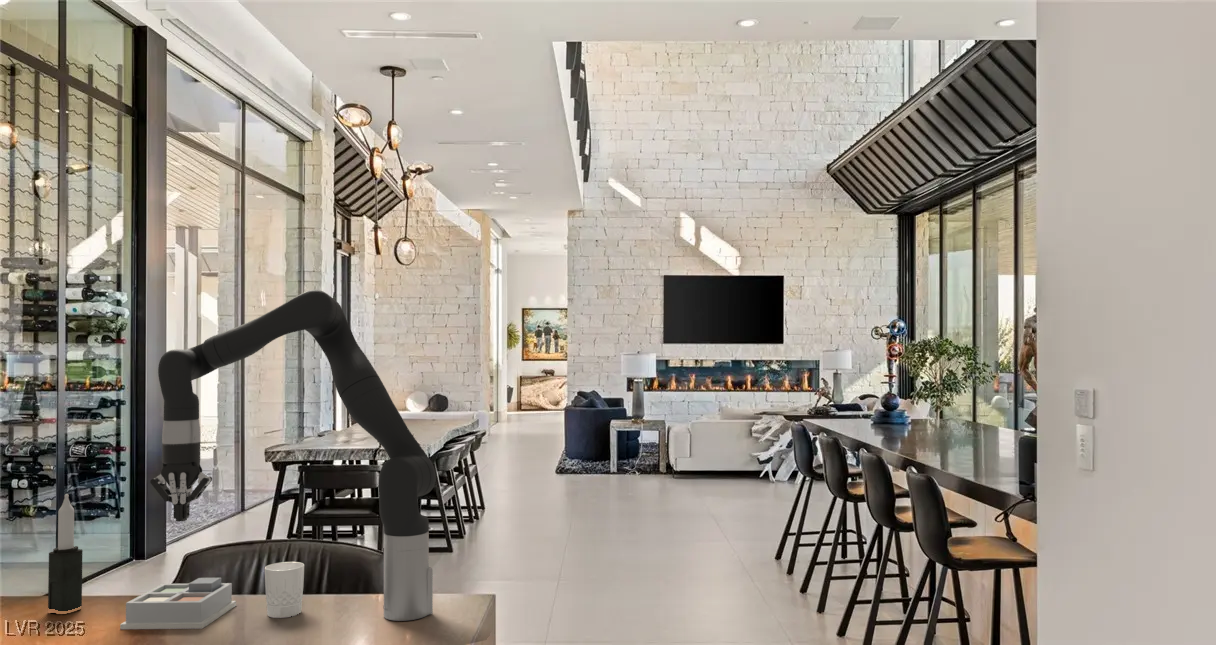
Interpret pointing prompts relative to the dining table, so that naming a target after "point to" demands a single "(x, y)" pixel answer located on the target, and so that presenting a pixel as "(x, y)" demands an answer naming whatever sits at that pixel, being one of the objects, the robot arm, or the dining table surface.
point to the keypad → (177, 608)
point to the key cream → (157, 599)
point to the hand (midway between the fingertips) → (181, 520)
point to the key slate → (205, 585)
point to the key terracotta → (191, 599)
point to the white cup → (284, 589)
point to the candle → (65, 564)
